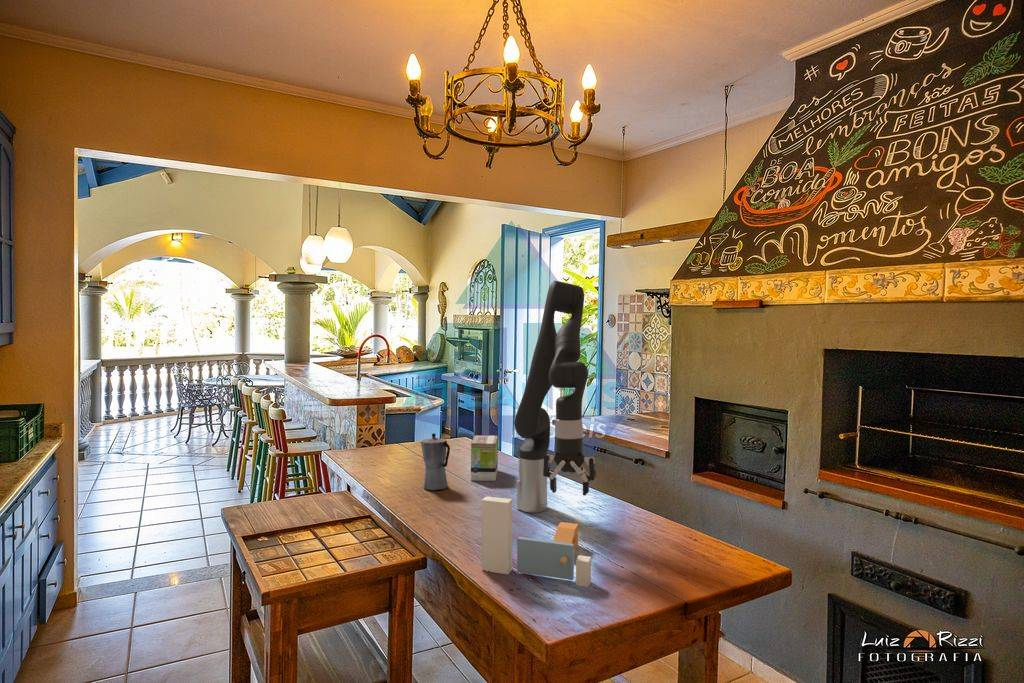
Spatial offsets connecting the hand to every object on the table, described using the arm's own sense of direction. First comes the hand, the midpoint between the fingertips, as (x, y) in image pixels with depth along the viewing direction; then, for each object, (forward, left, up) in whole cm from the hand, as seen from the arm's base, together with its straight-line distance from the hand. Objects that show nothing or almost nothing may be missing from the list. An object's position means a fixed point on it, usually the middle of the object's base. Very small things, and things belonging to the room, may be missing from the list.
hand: (569, 493), depth 158 cm
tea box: (-47, +56, -15) cm, 75 cm away
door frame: (-4, -20, -15) cm, 25 cm away
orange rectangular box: (0, -4, -15) cm, 15 cm away
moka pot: (-58, +36, -15) cm, 70 cm away
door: (-1, -20, -14) cm, 25 cm away
